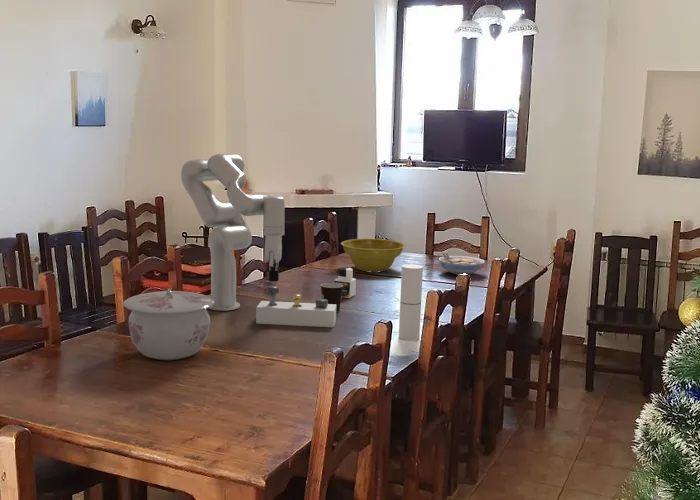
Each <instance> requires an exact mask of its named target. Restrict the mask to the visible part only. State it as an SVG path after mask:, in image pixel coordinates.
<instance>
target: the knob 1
mask: <svg viewBox="0 0 700 500" xmlns="http://www.w3.org/2000/svg"><path fill="white" fill-rule="evenodd" d="M266 293H267V294H269V301H270V306H276V302H277V301H276V298H277V297H276V296H277V294H279V293H280V287H279V286H276V285H267V286H266Z"/></svg>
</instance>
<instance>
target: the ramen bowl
mask: <svg viewBox="0 0 700 500" xmlns="http://www.w3.org/2000/svg"><path fill="white" fill-rule="evenodd" d="M442 255H443V256H440V257H439V258H438V262H439V263H440V265H441V267H442V268H443V269H445V271H447V272H449V273H452V274H453V273H454V274H463V273H466V274H469V275H471V274H474V273H476V272H478V271H479V270H480V269H482V268H483V266H484V264H485V262H486V261H485V260H484V259H482V258H478V257H474V256H463V255H449V254H448V253H446V254H445V253H442ZM454 274H453V275H454Z"/></svg>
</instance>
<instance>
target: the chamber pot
mask: <svg viewBox="0 0 700 500" xmlns="http://www.w3.org/2000/svg"><path fill="white" fill-rule="evenodd" d="M122 303H123V305H122V306H123V307H124V308H126V309H127V310H129V311H131V313H130V314H129V315H128V330H129V336H130V339H131V341H132V343H133V344H134V347H136V349H137V350H138V352H139V353H140V354H141V355H143V356H144V357H146V358H149V359H154V360H159V361H176V360H182V359H186V358H188V357H192V356H194V355H196V354H197V353H198V352H199V351H200V350H201V348H202V346H203V345H204V343H205V341H206V339H207V338H208V335H209V332H210V331H209V330H210V328H211V316H210V313H209V312H208V309H209V307H211V306H212V305H213V304H214V303H215V301H214V299H213V298H211V297H209V295H207V294H202V293H197V292H195V291H187V290H186V291H184V290H183V291H182V290H181V291H180V290H172V289H171V288H167V290H160V291H151V292H147V293H140V294H137V295H134V296H131V297H128V298H127V299H125V300H124V301H123V302H122Z"/></svg>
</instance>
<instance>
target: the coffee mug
mask: <svg viewBox="0 0 700 500" xmlns="http://www.w3.org/2000/svg"><path fill="white" fill-rule="evenodd" d="M342 290H343V285H342V284H337V283H334V282H325V283H321V284H320V291H321V299H327V300H328V304H336V313H338V312H339V313H340V309H341V302H342V297H341V296H342Z"/></svg>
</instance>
